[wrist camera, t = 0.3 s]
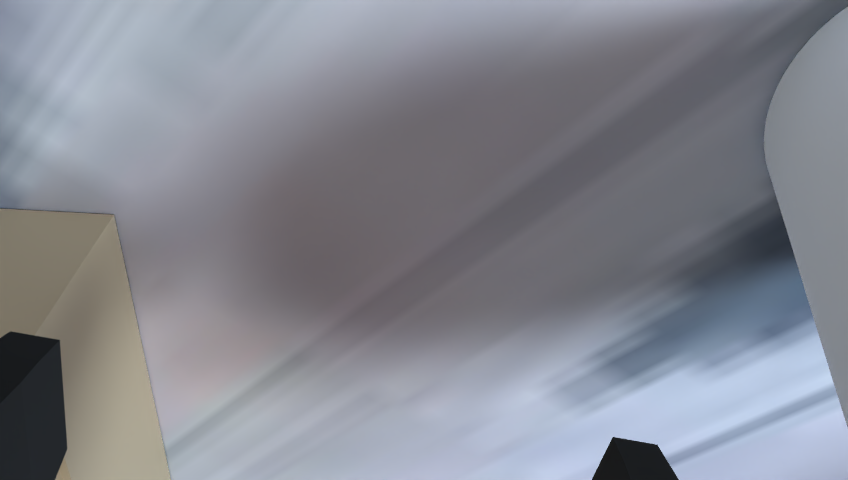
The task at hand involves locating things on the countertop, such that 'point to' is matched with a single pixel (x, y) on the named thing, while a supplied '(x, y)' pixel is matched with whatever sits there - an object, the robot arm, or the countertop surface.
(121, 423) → the carton
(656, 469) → the robot arm
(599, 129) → the countertop surface
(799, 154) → the cup
